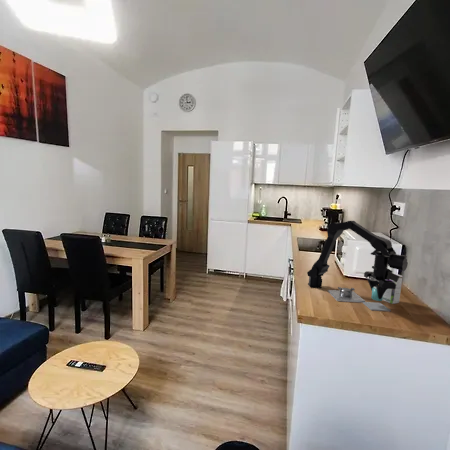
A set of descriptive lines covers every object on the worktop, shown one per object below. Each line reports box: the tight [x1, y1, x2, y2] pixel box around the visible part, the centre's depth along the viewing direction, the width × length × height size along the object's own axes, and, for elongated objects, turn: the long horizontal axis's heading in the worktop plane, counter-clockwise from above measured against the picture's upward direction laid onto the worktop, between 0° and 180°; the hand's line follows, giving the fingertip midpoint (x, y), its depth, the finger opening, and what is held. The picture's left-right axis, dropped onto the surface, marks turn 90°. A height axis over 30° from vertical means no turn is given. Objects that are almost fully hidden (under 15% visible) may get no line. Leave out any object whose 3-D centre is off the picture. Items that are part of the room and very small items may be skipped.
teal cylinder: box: [371, 287, 384, 302], centre depth 137 cm, size 5×5×6 cm
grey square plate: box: [327, 286, 366, 304], centre depth 149 cm, size 14×14×5 cm
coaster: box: [362, 301, 392, 312], centre depth 138 cm, size 9×9×1 cm
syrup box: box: [382, 273, 404, 305], centre depth 145 cm, size 6×6×14 cm
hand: (377, 296), depth 137 cm, fingers closed on teal cylinder, 5 cm apart
